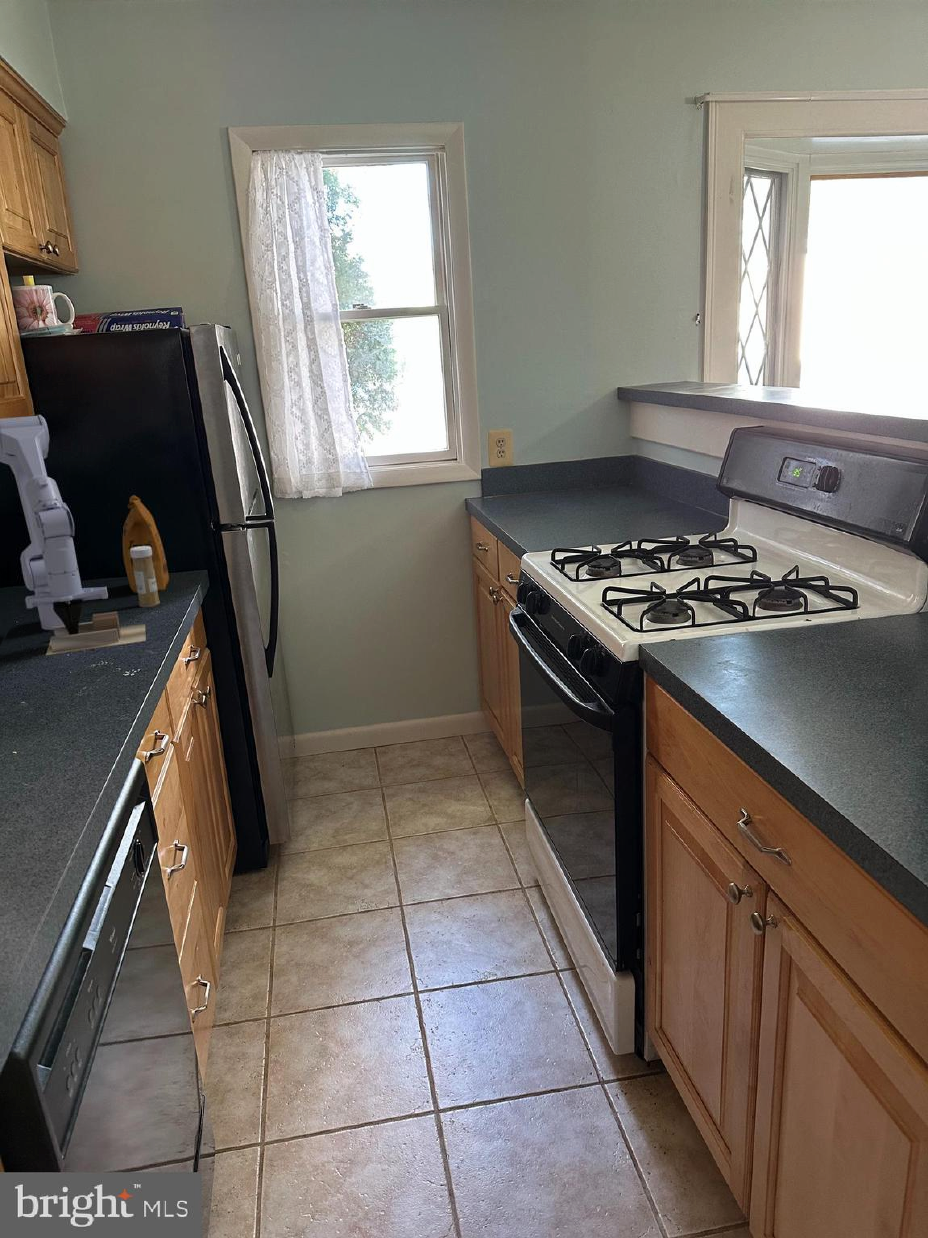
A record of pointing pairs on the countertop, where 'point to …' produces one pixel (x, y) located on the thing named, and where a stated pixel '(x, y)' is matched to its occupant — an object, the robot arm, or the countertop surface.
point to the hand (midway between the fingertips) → (75, 637)
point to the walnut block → (106, 622)
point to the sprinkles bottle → (145, 576)
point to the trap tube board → (93, 638)
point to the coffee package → (143, 543)
